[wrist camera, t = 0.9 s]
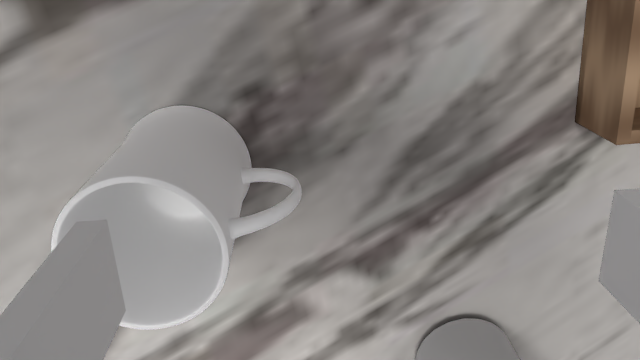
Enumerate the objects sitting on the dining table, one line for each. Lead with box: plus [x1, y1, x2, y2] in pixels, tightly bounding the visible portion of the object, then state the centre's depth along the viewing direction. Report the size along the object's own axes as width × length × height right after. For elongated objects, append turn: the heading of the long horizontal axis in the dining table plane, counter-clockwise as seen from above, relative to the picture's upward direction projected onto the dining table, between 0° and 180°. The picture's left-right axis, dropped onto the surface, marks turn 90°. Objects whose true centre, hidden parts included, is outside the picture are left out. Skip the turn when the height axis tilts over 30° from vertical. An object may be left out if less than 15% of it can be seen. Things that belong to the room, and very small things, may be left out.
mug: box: [51, 105, 302, 330], centre depth 31 cm, size 12×8×12 cm
